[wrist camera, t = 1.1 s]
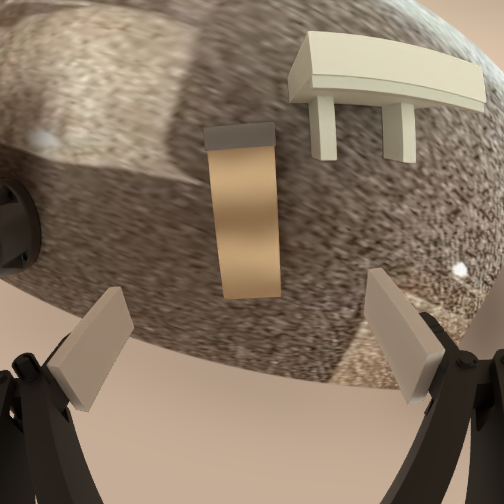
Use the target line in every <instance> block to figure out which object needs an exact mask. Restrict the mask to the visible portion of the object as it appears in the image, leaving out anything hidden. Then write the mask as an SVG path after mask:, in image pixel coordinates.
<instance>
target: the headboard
mask: <svg viewBox="0 0 504 504" xmlns="http://www.w3.org/2000/svg"><path fill="white" fill-rule="evenodd" d="M287 79H288V91H289V103H308V107H309V121H310V137H311V156H312V158H315V159H319V160H337V148H336V128H335V112H334V104H352V105H367V106H378V107H381V108H382V124H383V155H384V158H386V159H391V160H396V161H401V162H410V163H416V139H415V116H414V109H418V108H426V107H435V106H450V107H454V108H458V109H462V110H466V111H470V112H474V113H484V106H483V103H486V95H485V86H484V79H483V72H482V67H480V66H478V65H475V64H472V63H470V62H467V61H464V60H461V59H459V58H456V57H453V56H450V55H446V54H443V53H440V52H437V51H433V50H430V49H426V48H422V47H418V46H414V45H410V44H406V43H401V42H396V41H391V40H386V39H380V38H374V37H368V36H360V35H352V34H343V33H332V32H316V31H308V32H307V34H306V36H305V39H304V41H303V43H302V45H301V48H300V50H299V52H298V54H297V57H296V59H295V61H294V63H293V66H292V68H291V70H290V72H289V75H288V77H287Z"/></svg>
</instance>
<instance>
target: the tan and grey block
mask: <svg viewBox="0 0 504 504" xmlns="http://www.w3.org/2000/svg"><path fill="white" fill-rule="evenodd" d="M203 131H204V142H205V151H208V162H209V173H210V183H211V193H212V202H213V212H214V221H215V230H216V238H217V247H218V255H219V263H220V271H221V279H222V287H223V294H224V299H244V298H266V297H281V287H280V256H279V230H278V208H277V188H276V170H275V153H274V146H276V138H275V123H274V122H265V123H249V124H236V125H225V126H215V127H207V128H203Z"/></svg>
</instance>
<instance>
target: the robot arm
mask: <svg viewBox="0 0 504 504" xmlns="http://www.w3.org/2000/svg"><path fill="white" fill-rule="evenodd" d="M40 242H41V233H40V224H39V219H38V215H37V211H36V208H35V206H34V203H33V201H32V199H31V197H30V195H29V194H28V192H27V191H26V189H25V188H24V187H23V186H22V185H21V184H20V183H19V182H18V181H16V180H14V179H11V178H4V179H1V180H0V277H1V276H6V275H11V274H16V273H20V272H22V271H24V270H25V269H26V268H28V267H29V266H31V265H32V264H33V263H34V262H35V260H36V258H37V256H38V253H39V249H40ZM364 316H365V318H366V320H367V322H368V324H369V325H370V327H371V329H372V331H373V333H374V335H375V337H376V339H377V341H378V343H379V345H380V347H381V349H382V351H383V353H384V355H385V357H386V359H387V361H388V364H389V366H390V368H391V370H392V372H393V374H394V376H395V378H396V380H397V383H398V385H399V387H400V389H401V391H402V393H403V396H404V398H405V400H406V403H407V405H410V404H414V403H417V402H421V401H424V399H425V397H426V395H427V393H428V391H429V393H430V395H431V397H432V399H431V401H430V403H429V405H428V407H427V409H426V410H425V412H424V414H425V416H424V419H423V421H422V424H421V426H420V428H419V431H418V433H417V435H416V438H415V440H414V442H413V444H412V446H411V448H410V451H409V453H408V455H407V457H406V459H405V461H404V463H403V465H402V467H401V468H400V470H399V472H398V474H397V476H396V478H395V480H394V481H393V483H392V485H391V487H390V488H389V490H388V491H387V493H386V495H385V497H384V498H383V500H382V501H381V503H380V504H441V502H442V500H443V498H444V495H445V493H446V491H447V488H448V486H449V484H450V481H451V478H452V476H453V473H454V470H455V468H456V465H457V462H458V459H459V456H460V453H461V450H462V447H463V443H464V440H465V436H466V432H467V429H468V425H469V421H470V417H471V448H470V450H471V451H470V466H469V478H468V486H467V494H466V500H465V504H504V349H500V350H498V351H496V353H495V355H494V357H493V359H491V360H478V358H477V357H476V356H475V355H474V354H472V353H471V352H468V351H463V350H459V349H458V347H457V346H456V345H455V343H454V342H453V341H452V339H451V338H450V337H449V335H448V334H447V333H446V331H445V332H444V329H443V328H442V326H440V324H439V323H438V321H437V320H436V319H435V318H434V317H433V316H431V315H430V314H428V313H427V312H421V313H418V312H417V311H416V310H415V308H414V307H413V306H412V304H411V303H410V302H409V301H408V299H407V298H406V297H405V296H404V294H403V293H402V292H401V291H400V289H399V288H398V287H397V286H396V284H395V283H394V282H393V281H392V280H391V278H390V277H389V276H388V275H387V274H386V272H385V271H384V270H383V269H382V268H375V269H368V277H367V288H366V297H365V306H364ZM133 329H134V325H133V322H132V320H131V317H130V314H129V311H128V308H127V305H126V302H125V299H124V296H123V293H122V289H121V287H109V288H108V289H107V291H106V292H105V293H104V294H103V295H102V296H101V298H100V299H99V300H98V301H97V302H96V303H95V305H94V306H93V307H92V308H91V309H90V310H89V312H88V313H87V314H86V315H85V316H84V318H83V319H82V320H81V321H80V322H79V324H78V325H77V326H76V327H75V329H74V330H73V331H72V332H71V333H69V334H68V335H67V336H66V337H64V338H63V339H62V340H61V342H60V343H59V344H58V346H57V347H56V348H55V349H54V351H53V352H52V353H51V354H50V356H49V357H48V358H47V360H46V361H45V363H44V364H43V365H42V366H40V365H39V363H38V361H37V360H36V358H35V356H34V355H33V354H32V353H23V354H21V355H19V356H18V357H17V358H16V359H15V360H14V361H13V363H12V368H13V369H14V371H15V373H16V374H17V376H18V377H19V378H14V377H13V376H12V375H11V373H10V371H8V370H3V371H0V504H36V502H35V495H36V499H37V502H38V504H104V503H103V501H102V499H101V497H100V495H99V493H98V491H97V488H96V486H95V483H94V481H93V479H92V476H91V474H90V471H89V469H88V466H87V464H86V461H85V458H84V455H83V452H82V449H81V446H80V443H79V440H78V437H77V434H76V431H75V427H74V424H73V420H72V417H71V413H70V410H69V408H68V407H67V405H68V403H69V401H70V402H71V404H72V405H73V406H74V408H75V409H76V410H80V411H84V412H89V410H90V408H91V406H92V404H93V402H94V400H95V398H96V396H97V395H98V393H99V391H100V389H101V387H102V385H103V383H104V381H105V379H106V377H107V375H108V374H109V372H110V370H111V368H112V366H113V365H114V363H115V361H116V359H117V357H118V355H119V354H120V352H121V350H122V348H123V347H124V345H125V343H126V341H127V339H128V338H129V336H130V334H131V333H132V331H133ZM10 410H11V411H12V412H13V414H14V418H12V417H11V416H10Z"/></svg>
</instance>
